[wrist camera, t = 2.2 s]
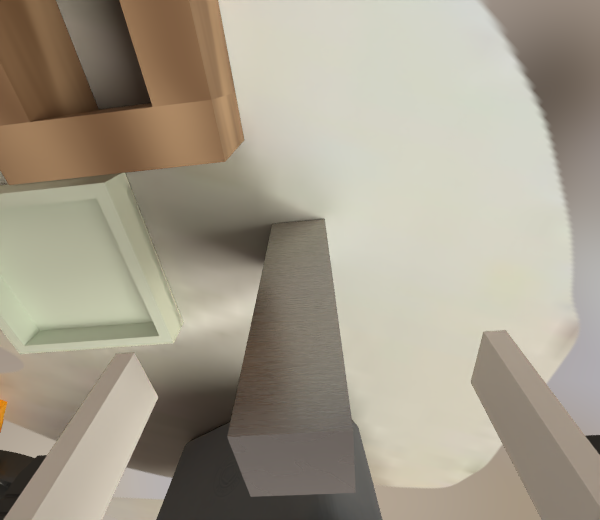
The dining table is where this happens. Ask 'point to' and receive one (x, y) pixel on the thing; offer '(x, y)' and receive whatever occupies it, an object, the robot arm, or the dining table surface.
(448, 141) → the dining table surface
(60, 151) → the hollow wooden square
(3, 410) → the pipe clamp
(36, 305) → the tray
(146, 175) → the dining table surface
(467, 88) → the dining table surface
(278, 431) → the grey wooden beam
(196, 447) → the storage bin
